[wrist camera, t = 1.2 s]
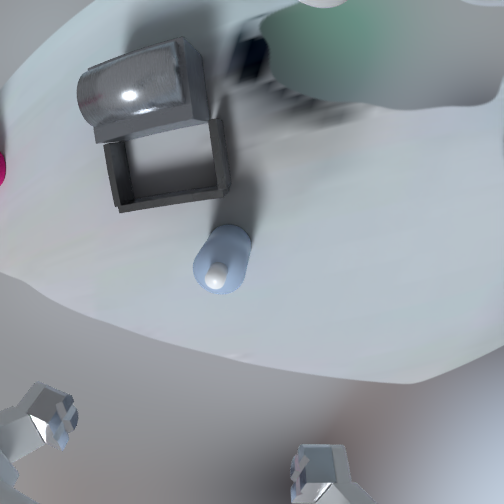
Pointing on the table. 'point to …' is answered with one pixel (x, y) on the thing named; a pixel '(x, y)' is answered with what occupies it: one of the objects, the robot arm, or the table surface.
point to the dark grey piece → (150, 114)
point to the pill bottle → (323, 3)
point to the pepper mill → (2, 168)
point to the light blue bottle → (223, 260)
